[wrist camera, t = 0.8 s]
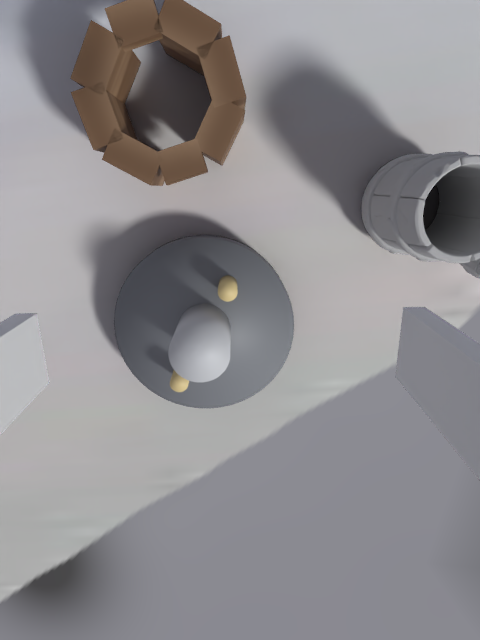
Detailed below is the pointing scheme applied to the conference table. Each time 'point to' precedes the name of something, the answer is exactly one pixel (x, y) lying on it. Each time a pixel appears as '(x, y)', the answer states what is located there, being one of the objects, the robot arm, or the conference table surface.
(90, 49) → the collar
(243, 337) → the flange base
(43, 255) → the conference table surface
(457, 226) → the mug
